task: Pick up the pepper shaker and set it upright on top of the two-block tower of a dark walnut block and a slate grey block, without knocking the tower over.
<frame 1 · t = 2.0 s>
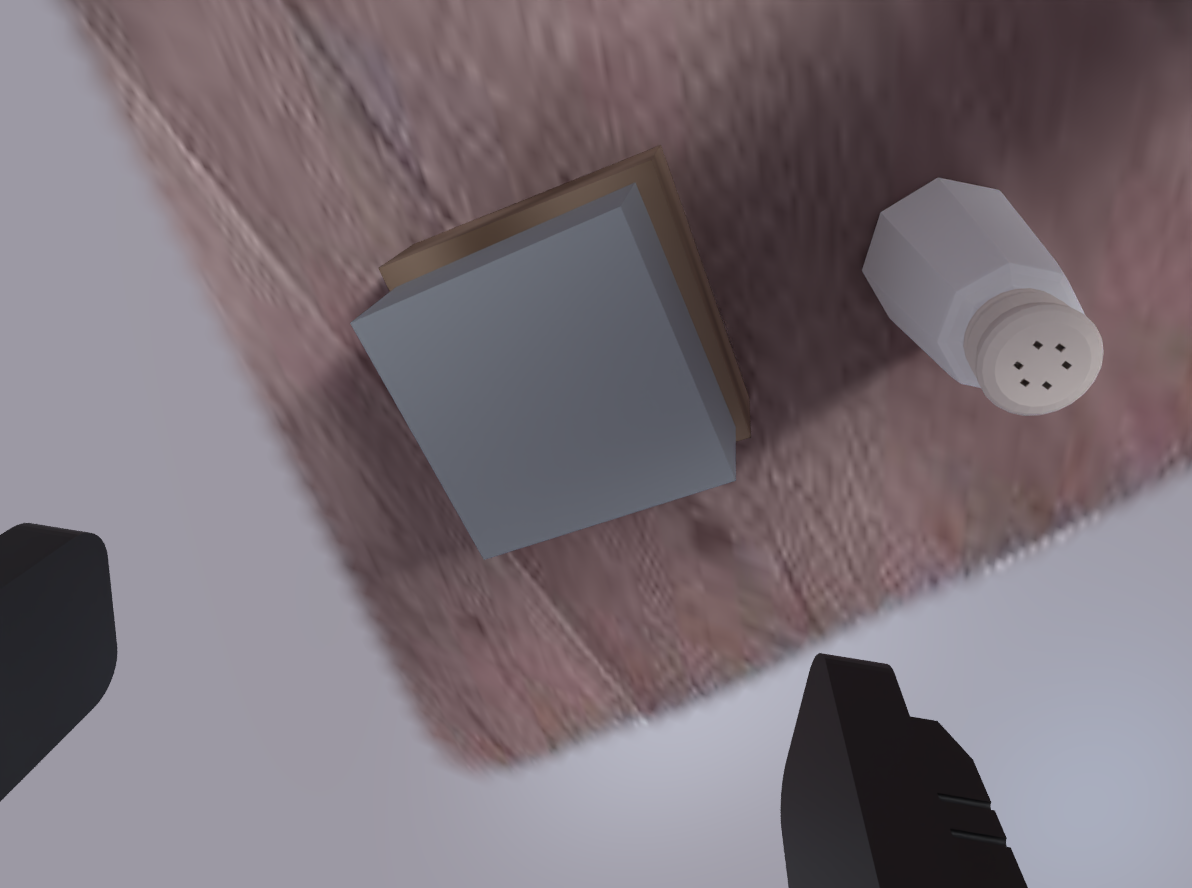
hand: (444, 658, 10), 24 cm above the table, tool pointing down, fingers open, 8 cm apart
grey top block: (567, 357, 30), point 4 cm above the table, touching walnut base block
pepper shaker: (940, 254, 30), on the table
walnut base block: (584, 318, 34), on the table, touching grey top block
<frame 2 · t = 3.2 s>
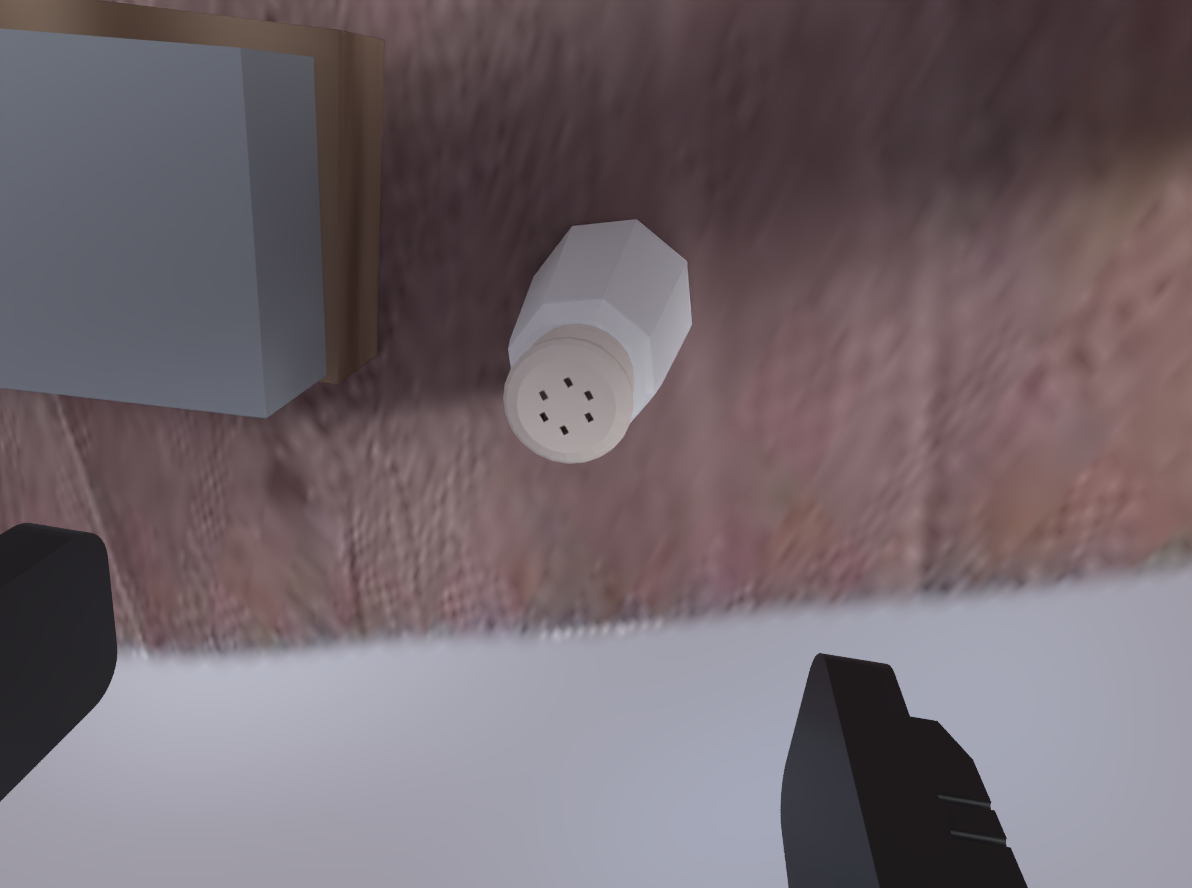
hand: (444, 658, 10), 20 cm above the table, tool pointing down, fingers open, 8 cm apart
grey top block: (172, 212, 25), point 4 cm above the table
pepper shaker: (613, 298, 29), on the table
walnut base block: (240, 186, 29), on the table
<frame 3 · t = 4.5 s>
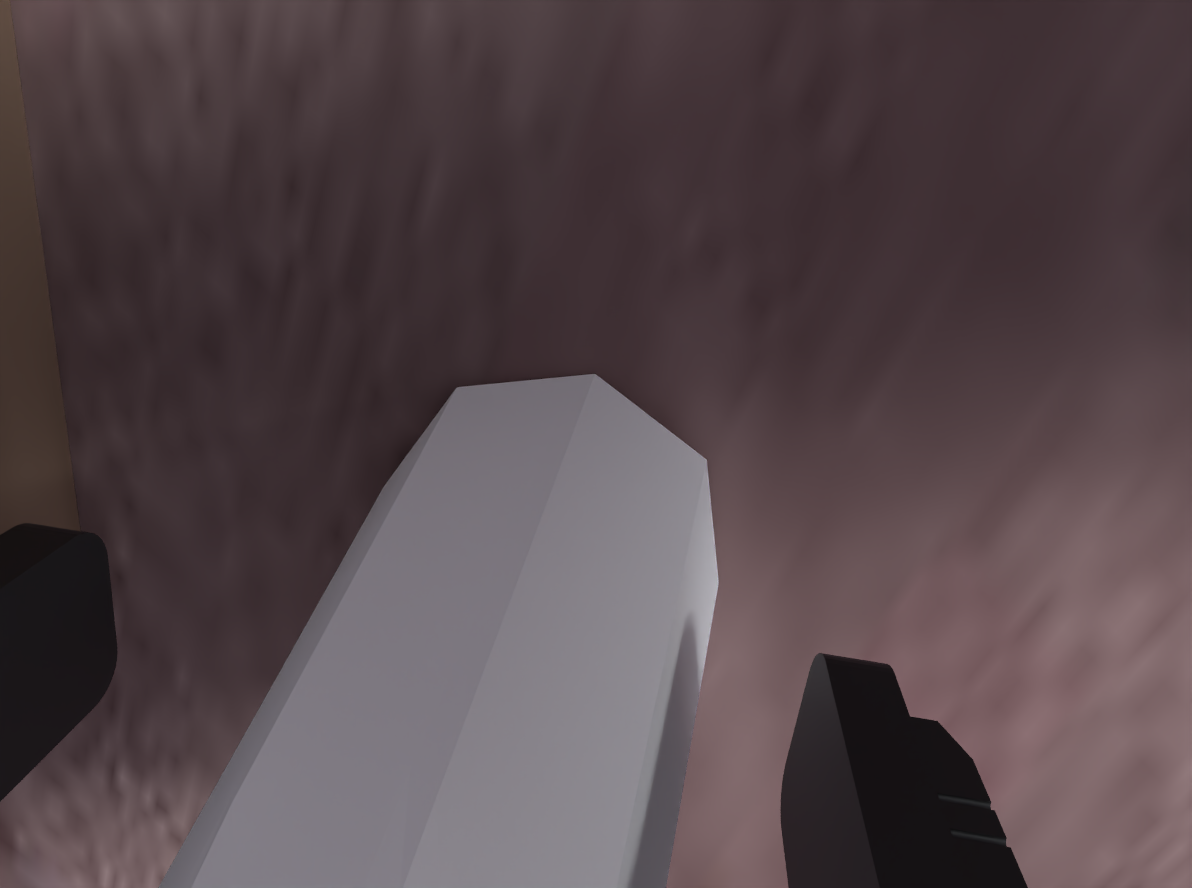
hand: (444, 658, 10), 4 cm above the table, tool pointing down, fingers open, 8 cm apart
pepper shaker: (554, 523, 14), on the table
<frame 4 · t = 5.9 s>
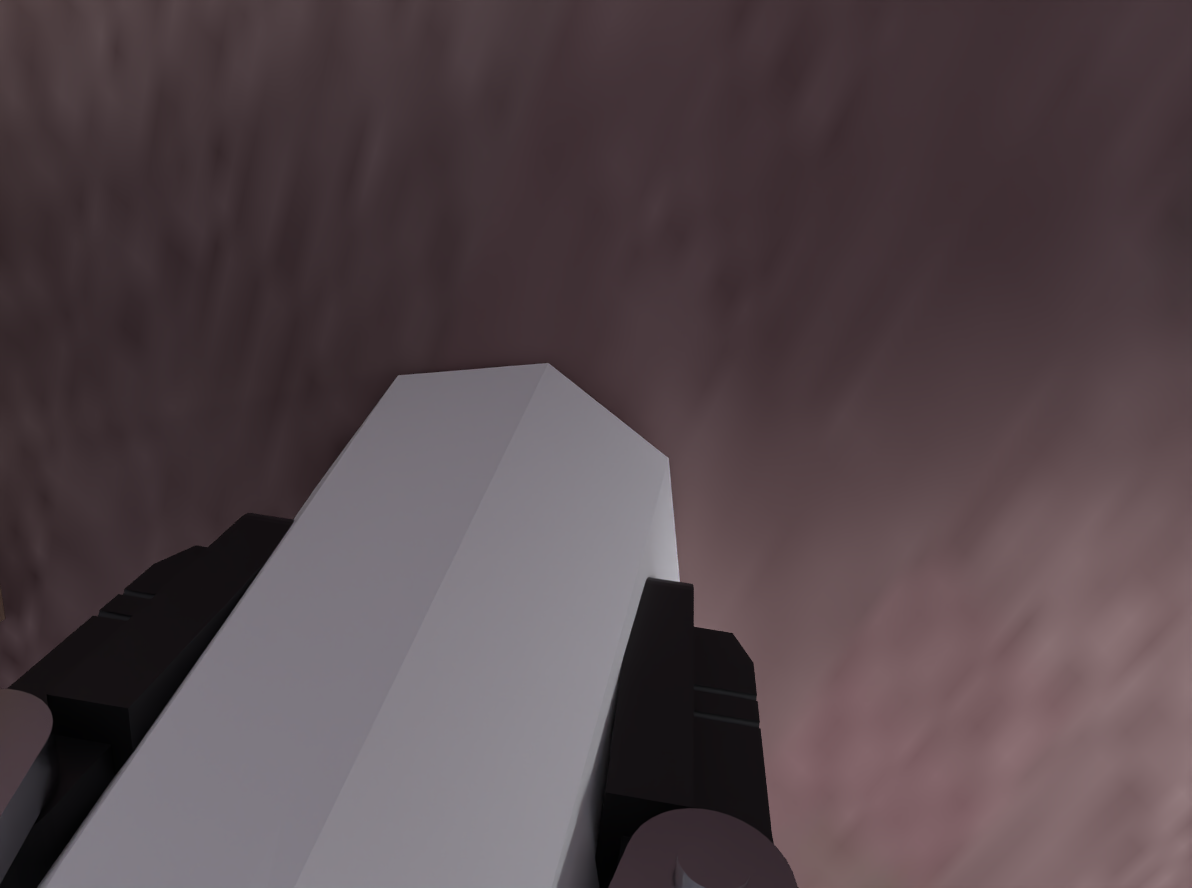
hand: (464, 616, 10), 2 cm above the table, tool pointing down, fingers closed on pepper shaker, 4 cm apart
pepper shaker: (505, 525, 13), on the table, touching gripper
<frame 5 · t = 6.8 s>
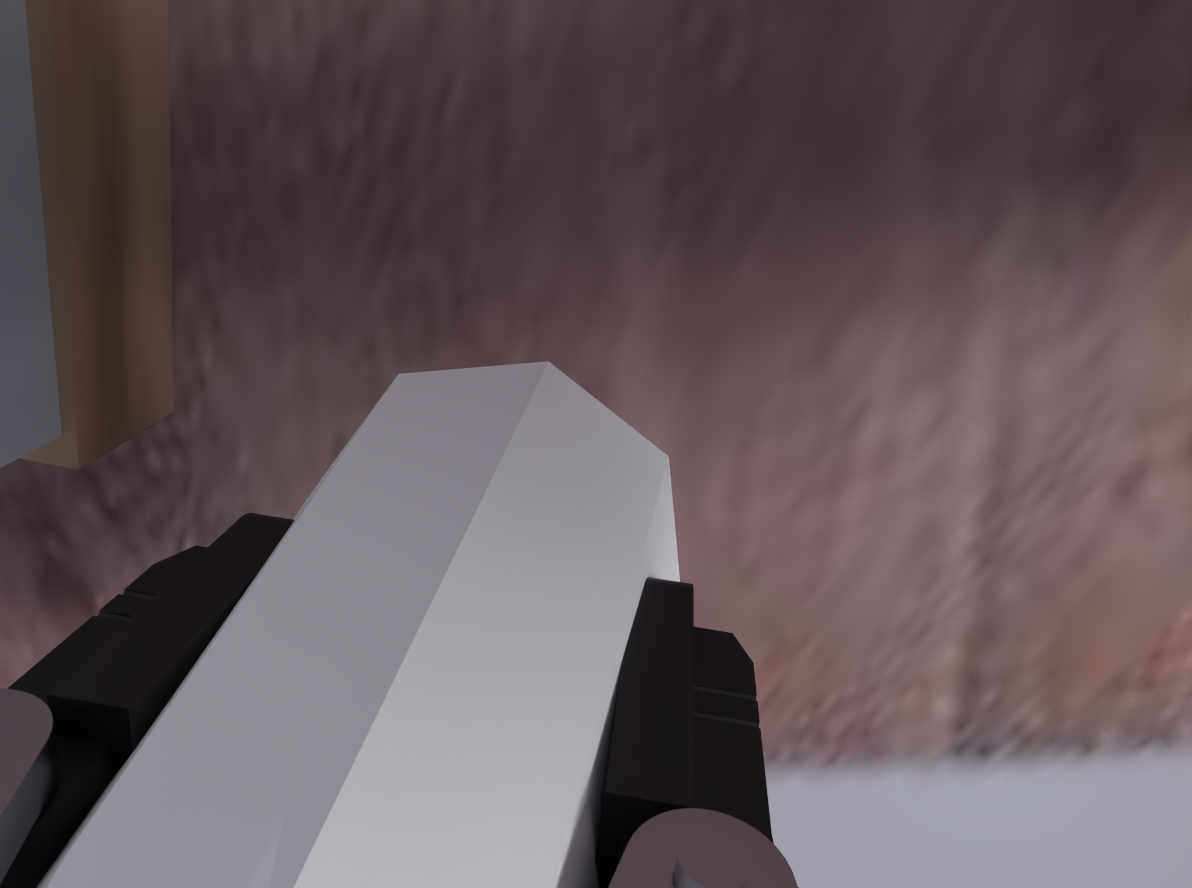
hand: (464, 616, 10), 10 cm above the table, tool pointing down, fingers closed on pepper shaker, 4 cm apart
pepper shaker: (505, 523, 13), point 7 cm above the table, touching gripper
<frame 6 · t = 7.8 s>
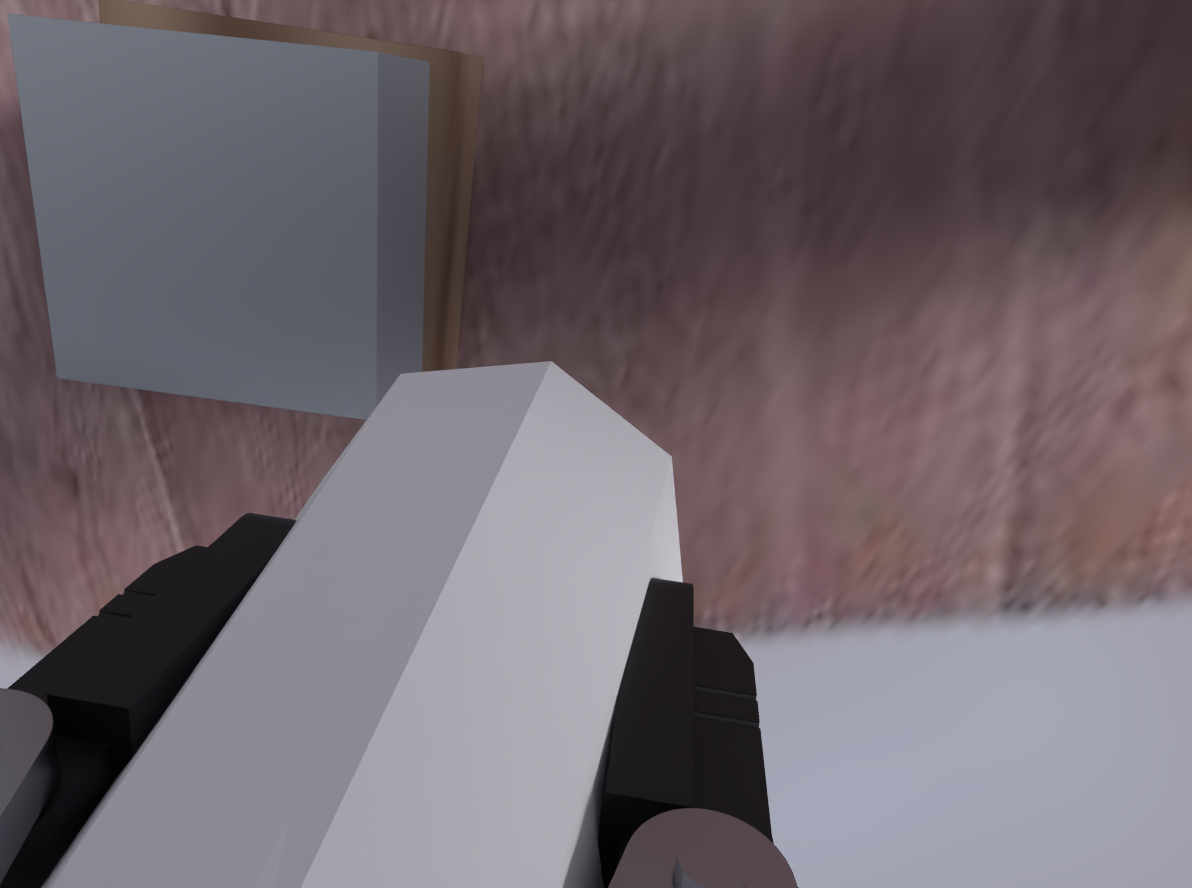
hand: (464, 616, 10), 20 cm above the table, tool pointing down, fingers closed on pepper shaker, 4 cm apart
grey top block: (276, 213, 25), point 3 cm above the table, touching walnut base block
pepper shaker: (508, 523, 13), point 17 cm above the table, touching gripper
walnut base block: (327, 198, 29), on the table, touching grey top block
when the fingers open (12 cm above the table, at t = 10.6 s): pepper shaker drops 2 cm, resting on grey top block.
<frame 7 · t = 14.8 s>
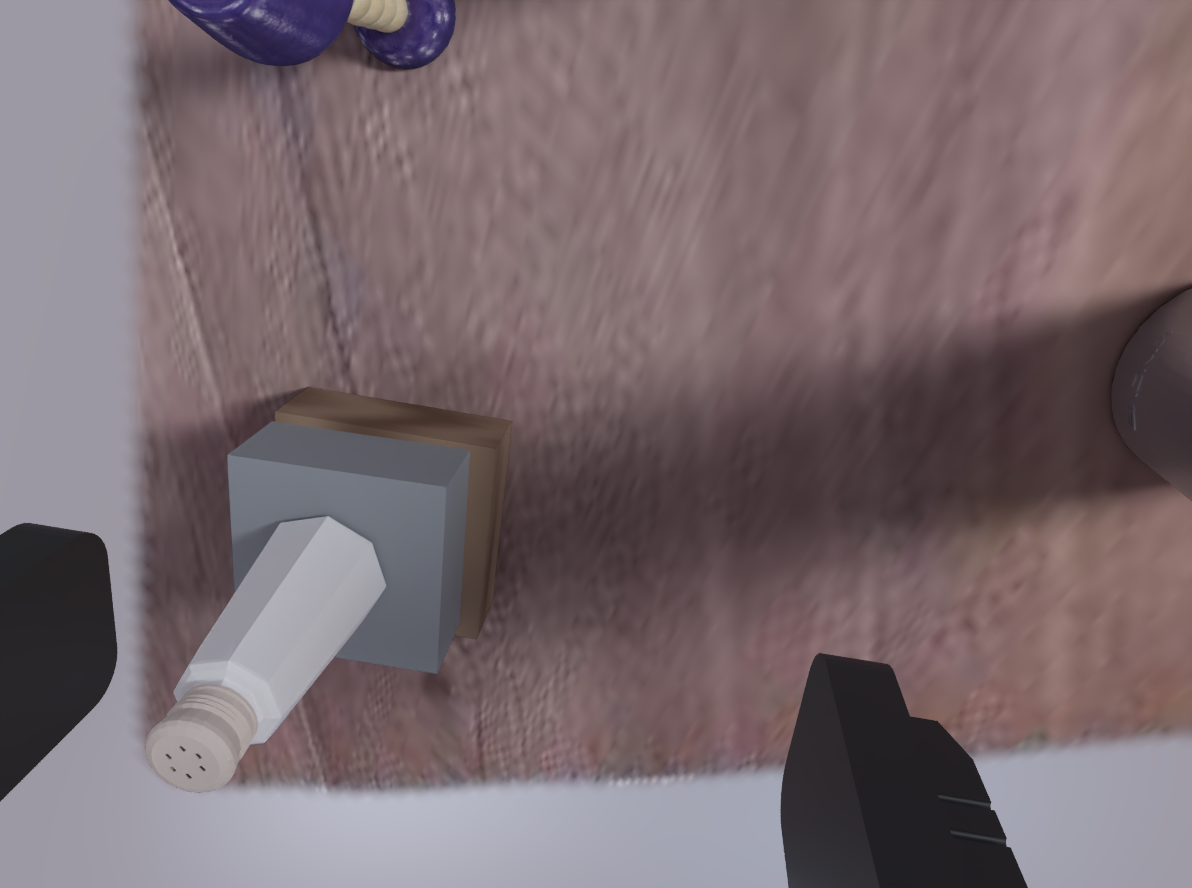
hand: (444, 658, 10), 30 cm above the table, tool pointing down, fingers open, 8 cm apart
grey top block: (369, 525, 40), point 4 cm above the table, touching pepper shaker, walnut base block
toy lamp: (413, 18, 35), on the table
pepper shaker: (326, 567, 36), point 7 cm above the table, touching grey top block
walnut base block: (406, 494, 44), on the table, touching grey top block
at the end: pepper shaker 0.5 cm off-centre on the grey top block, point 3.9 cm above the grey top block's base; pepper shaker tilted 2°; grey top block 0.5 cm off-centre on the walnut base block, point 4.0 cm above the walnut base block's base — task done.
